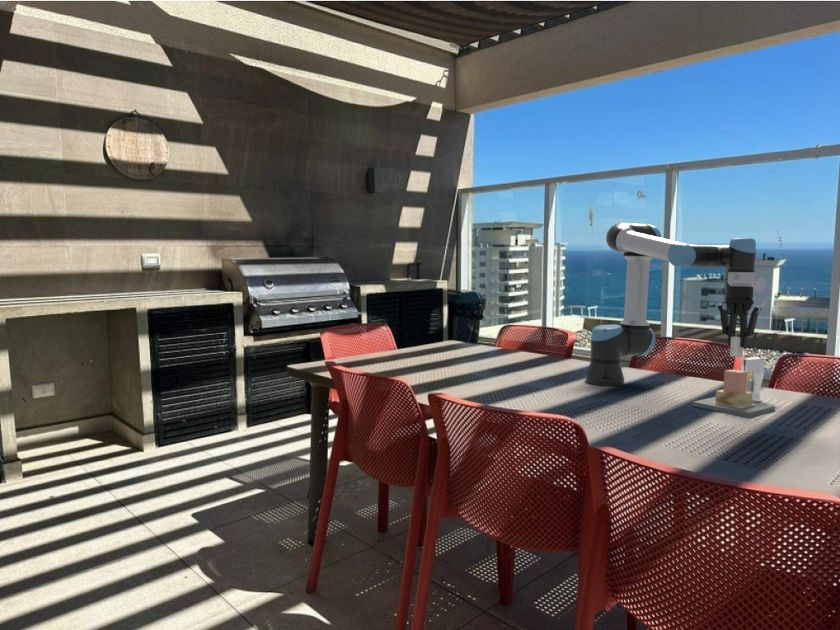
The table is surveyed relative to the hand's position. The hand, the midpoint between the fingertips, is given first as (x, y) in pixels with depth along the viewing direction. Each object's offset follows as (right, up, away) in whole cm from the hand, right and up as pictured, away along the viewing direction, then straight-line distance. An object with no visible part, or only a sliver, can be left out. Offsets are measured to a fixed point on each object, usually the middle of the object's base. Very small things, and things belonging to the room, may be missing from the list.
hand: (736, 356), depth 188 cm
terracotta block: (0, -12, +1) cm, 12 cm away
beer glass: (+13, -17, +15) cm, 26 cm away
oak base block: (0, -16, +1) cm, 16 cm away
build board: (0, -17, +1) cm, 17 cm away
